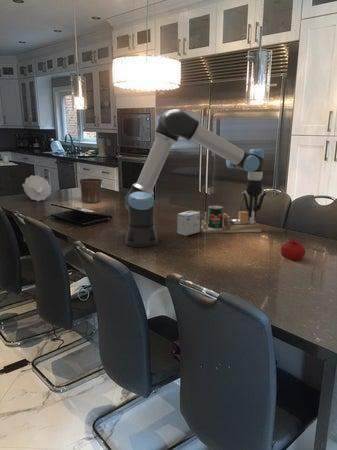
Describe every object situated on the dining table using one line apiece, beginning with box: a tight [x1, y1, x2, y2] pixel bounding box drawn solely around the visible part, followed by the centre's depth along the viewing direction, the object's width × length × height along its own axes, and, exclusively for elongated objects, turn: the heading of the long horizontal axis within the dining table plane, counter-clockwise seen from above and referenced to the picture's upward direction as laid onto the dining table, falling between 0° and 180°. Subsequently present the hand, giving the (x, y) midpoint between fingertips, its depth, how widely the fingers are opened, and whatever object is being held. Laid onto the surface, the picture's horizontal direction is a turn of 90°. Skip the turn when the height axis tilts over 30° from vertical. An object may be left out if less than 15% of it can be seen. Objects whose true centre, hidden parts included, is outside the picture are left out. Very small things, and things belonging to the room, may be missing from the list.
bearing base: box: [201, 212, 262, 234], centre depth 199 cm, size 10×30×8 cm, turn 96°
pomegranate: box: [280, 236, 306, 262], centre depth 156 cm, size 10×10×9 cm
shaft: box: [230, 210, 249, 225], centre depth 199 cm, size 4×9×8 cm, turn 96°
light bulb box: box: [177, 210, 201, 236], centre depth 192 cm, size 11×7×11 cm, turn 135°
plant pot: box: [78, 178, 103, 204], centre depth 268 cm, size 16×16×16 cm
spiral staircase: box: [21, 174, 52, 202], centre depth 276 cm, size 18×18×25 cm
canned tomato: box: [207, 204, 224, 229], centre depth 197 cm, size 8×8×11 cm
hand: (251, 222), depth 200 cm, fingers closed
